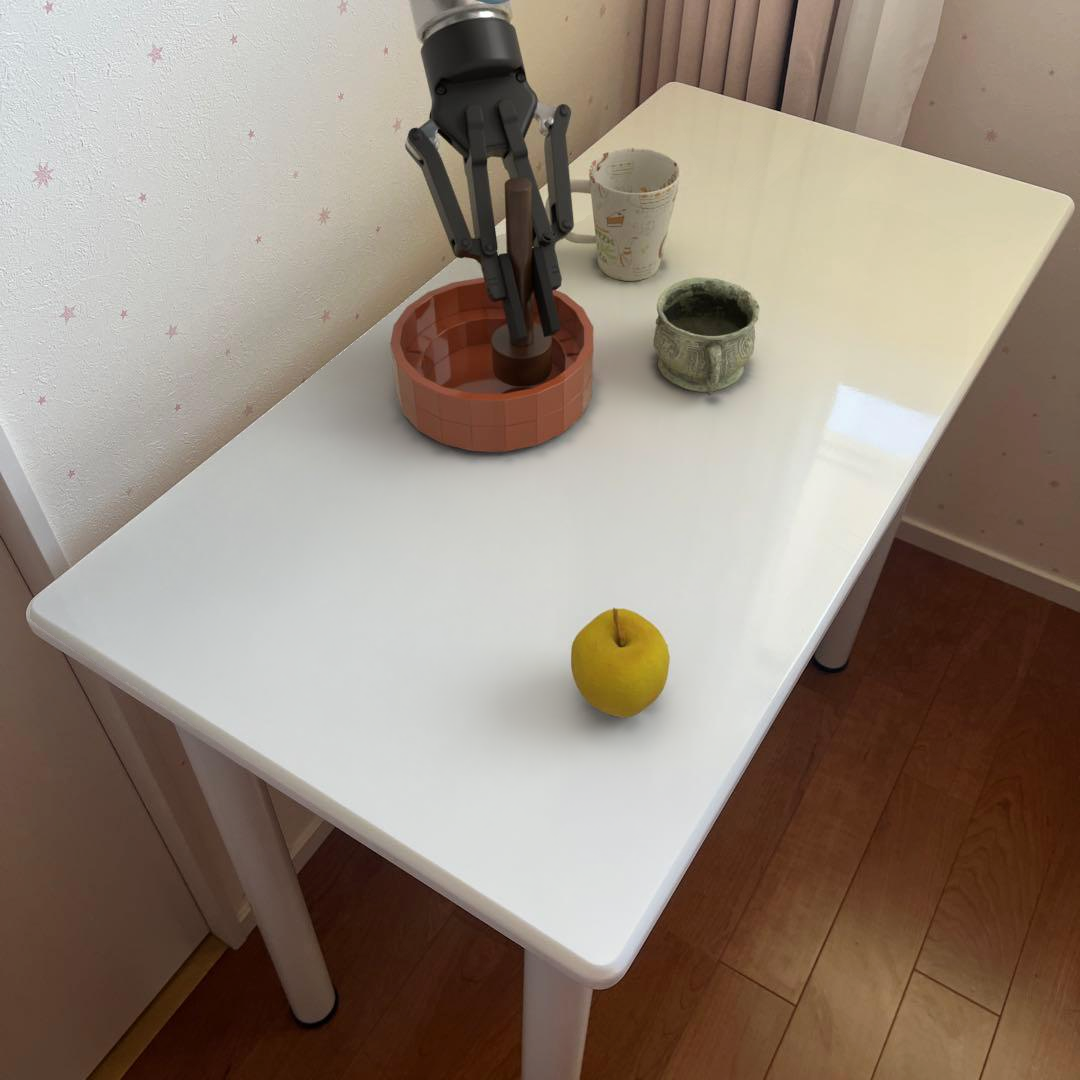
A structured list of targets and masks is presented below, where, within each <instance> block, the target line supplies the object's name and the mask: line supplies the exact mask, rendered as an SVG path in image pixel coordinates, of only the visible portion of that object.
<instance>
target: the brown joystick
mask: <svg viewBox="0 0 1080 1080" xmlns="http://www.w3.org/2000/svg"><path fill="white" fill-rule="evenodd" d="M504 210H505V213H504V214H505V240H506V242H505V243H506V253H509V256H510V261H511V265H512V269H513V274H514V278H515V282H516V287H517V291H518V295H519V300H520V304H521V308H522V313H523V317H524V321H525V326H526V330H527V334H528V337H526V338H525V339H524V340H523V341H521V342H518V343H513V344H512V343H511V338H510V334H509V330H508V325H507V324H505V325H503V326H501V327H500V328H498V329H497V330H496V331H495V332H494V334H493V336H492V339H491V343H492V364H493V372H494V375H495V376H496V377H497V378H498V379H499V380H500V381H501V382H503V383H505V384H508V385H511V386H517V387H526V386H532V385H536V384H538V383H541V382H542V381H544V380H545V379H546V378H547V377H548V376H549V375H550V373H551V371H552V337H551V336H547V337H544V334H543V330H542V326H541V325H539V324H536V323H534V318H533V240H532V183H531V182H530V181H529V180H528V179H526V178H521V177H516V178H511V179H510V178H509V179H507V180H506V181H505V182H504Z"/></svg>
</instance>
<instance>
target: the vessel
mask: <svg viewBox="0 0 1080 1080" xmlns="http://www.w3.org/2000/svg"><path fill="white" fill-rule="evenodd" d="M656 311H657V314H658V316H657V318H656V319H655V325H656V326H655V329H654V335H653V347H654V349H655V351H656V353H657V355H658V362H657V368H658V369H659V371H660V373H661V375H662V376H663V377H664V378H665V379H667V380H668V381H669V382H671V383H672V385H676V386H679V387H680V388H683V389H685V390H689V391H693V392H701V393H702V392H703V393H705V392H706V393H707V395H708V396H712V395H713V394H714V392H715V391H720V390H723V389H726V388H728V387H730V386H731V385H733V384H734V383H736V382H737V381H738V380H739V379H740V378H741V377H742V375H743V374H744V371H745V364H746V363H747V362H748V361H749V359H750V358H751V357H752V355H753V353H754V349H755V341H756V329H755V324H756V323H757V322H758V321H759V316H760V314H759V313H760V305H759V303H758V301H757V300H756V299H755V297H754V296H753V294H752V293H751V292H750V291H748V290H747V289H745V288H743V287H742V286H740V285H738V284H736V283H732V282H730V281H727V280H724V279H719V278H713V277H692V278H686V279H682V280H679V281H677V282H675V283H673V284H672V285H670V286H668V287H667V288H665V289H664V290H663V291H662V292H661V293H660V295H659V296H658V298H657V302H656Z"/></svg>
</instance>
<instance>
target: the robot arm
mask: <svg viewBox="0 0 1080 1080" xmlns="http://www.w3.org/2000/svg"><path fill="white" fill-rule="evenodd" d="M510 1H511V0H408V2H409V7H410V12H411V16H412V21H413V25H414V30H415V34H416V38H417V40H418V42H419V43H420V44H422V46H421V48H420V57H421V60H422V64H423V68H424V73H425V78H426V82H427V86H428V90H429V95H430V99H431V107H430V112H429V118H428V120H427V121H426V122H424V123H423V124H422V125H420V127H413V128H411V129H409V131H408V134H407V136H406V140H405V143H404V148H405V151H406V152H407V153H408V155H409V156H410V157H411V158H412V159H413V161H414V162H415V163H416V164H417V166H419V168H420V170H421V172H422V174H423V177H424V179H425V182H426V185H427V187H428V191H429V193H430V196H431V198H432V201H433V203H434V206H435V208H436V211H437V214H438V216H439V218H440V222H441V224H442V227H443V229H444V232H445V234H446V237H447V240H448V243H449V245H450V248H451V250H452V253H453V255H454V256H455V257H456V258H457V259H465V258H466V259H472V260H474V261H476V262H477V263H478V264H479V266H480V269H481V272H482V278H483V277H484V282H485V286H486V290H487V295H488V297H489V299H490V300H491V302H496V301H501V300H502V304H503V308H504V312H505V317H506V321H507V325H508V330H509V334H510V338H511V343H512V344H513V343H518V342H521V341H523V340H524V339H525V338H526V337H528V334H527V330H526V326H525V321H524V317H523V313H522V308H521V304H520V300H519V295H518V291H517V287H516V282H515V278H514V274H513V269H512V265H511V261H510V256H509V253H507V252H504V253H498V247H499V246H498V240H497V239H498V238H497V232H496V231H497V230H496V225H495V224H496V223H495V218H494V217H495V216H494V215H495V214H494V209H493V200H492V194H491V185H490V179H489V178H490V177H489V170H488V159H489V158H500V159H501V161H502V165H503V167H504V169H505V170H506V172H507V174H508V176H509V179H511V178H516V177H521V178H526V179H528V180H529V181H530V182H531V183H532V240H533V291H534V295H535V300H536V304H537V308H538V313H539V317H540V321H541V326H542V330H543V334H544V337H547V336H552V335H554V334H555V333H557V332H558V331H560V330H561V326H560V322H559V318H558V313H557V309H556V305H555V300H554V296H553V292H552V290H557V291H558V289H559V288H560V287H561V286H562V281H563V278H562V273H561V270H560V265H559V264H560V263H559V260H558V255H557V252H556V251H557V250H556V244H557V243H558V242H560V241H561V240H565V237H566V236H567V235H568V234H569V233H570V231H571V232H572V231H573V230H574V227H575V221H574V209H573V199H572V198H573V197H572V193H571V187H570V180H571V176H570V167H569V154H568V145H567V132H568V128H569V123H570V120H571V116H572V108H571V107H570V106H569V105H568V104H566V103H561V104H559V105H558V106H557V107H556V106H553V105H551V104H548V103H544V102H543V101H539V97H538V95H537V93H536V91H534V89H533V88H532V87H531V86H530V84H529V82H528V79H527V73H526V68H525V64H524V61H523V56H522V52H521V46H520V43H519V38H518V34H517V31H516V27H515V26H514V25H513V24H511V21H512V19H513V11H512V7H511V3H510ZM534 119H535V120H536V122H537V125H538V131H539V133H540V134H541V135H542V136H543V137H544V141H543V142H544V144H543V148H544V149H543V150H544V151H543V152H544V153H543V154H544V162H545V174H546V184H547V195H548V196H547V198H548V197H549V208H550V218H551V225H550V222H549V219H548V216H547V213H546V210H545V204H544V201H543V199H542V195H541V191H540V189H539V186H538V183H537V179H536V177H535V173H534V171H533V168H532V165H531V162H530V159H529V149H528V147H527V144H526V140H525V138H526V136H527V133H528V131H529V129H530V126H531V124H532V122H533V120H534ZM438 135H439V136H440V137H441V138H442V139H443V140H445V142H446V143H448V144H449V145H450V146H451V147H452V148H453V149H454V150H455V151H456V152H457V153H458V154H459V155H461V157H462V162H463V168H464V169H463V170H464V175H465V177H466V182H467V183H466V184H467V190H468V196H469V197H468V198H469V206H470V213H471V220H472V227H473V235H474V237H472V235H471V232H470V230H469V227H468V224H467V221H466V220H465V216H464V214H463V211H462V209H461V206H460V204H459V201H458V198H457V196H456V193H455V190H454V188H453V185H452V182H451V180H450V177H449V175H448V174H449V173H448V171H447V169H446V166H445V164H444V161H443V158H442V156H441V154H440V152H439V151H438V150H439V148H440V145H441V144H440V141H439V138H438Z"/></svg>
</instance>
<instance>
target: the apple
mask: <svg viewBox="0 0 1080 1080" xmlns="http://www.w3.org/2000/svg"><path fill="white" fill-rule="evenodd" d="M670 658H671V655H670V652H669V645H668V644H667V642H666V639H665V638H664V636H663V634H662V633H661V632H660V630H659V629H658V628H657V627H656V626H655V625H654V624H653V623H652V622H651V621H649V620H648V619H646V618H645V617H644V616H642V615H640V614H639V613H637V612H635V611H633V610H631V609H627V608H615V607H613V608H611V609H608V610H605V611H603V612H601V613H600V614H598V615H597V616H596V617H594V618H592V620H591V621H589V622H588V623H587V624H586V625H585V626H584V627H583V628H581V630H579V632H578V633H577V634H576V636H575V637H574V639H573V641H572V645H571V648H570V667H571V673H572V677H573V680H574V683H575V685H576V688H577V689H578V691H579V693H580V694H581V696H582V697H583V699H584V700H585V701H586V702H587V703H588V704H589V705H590V706H591V707H593V708H595V709H597V710H599V711H600V712H602V713H604V714H606V715H611V716H615V717H619V718H631V717H634V716H636V715H638V714H641V713H642V712H644V711H645V710H647V709H648V708H649V707H650V706H651V705H652V704H653V703H654V702H655V701H657V699H658V698H659V696H660V695H661V693H662V692H663V691H664V688H665V685H666V683H667V680H668V675H669V668H670V660H671V659H670Z"/></svg>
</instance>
